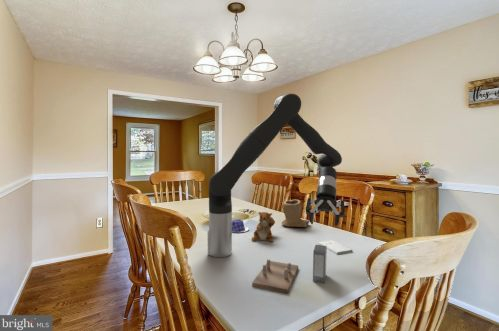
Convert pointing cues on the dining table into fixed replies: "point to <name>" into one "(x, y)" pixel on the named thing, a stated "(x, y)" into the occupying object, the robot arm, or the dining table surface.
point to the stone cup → (293, 214)
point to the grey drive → (319, 263)
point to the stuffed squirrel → (264, 227)
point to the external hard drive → (335, 247)
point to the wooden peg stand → (276, 276)
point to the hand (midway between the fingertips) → (323, 224)
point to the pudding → (238, 226)
